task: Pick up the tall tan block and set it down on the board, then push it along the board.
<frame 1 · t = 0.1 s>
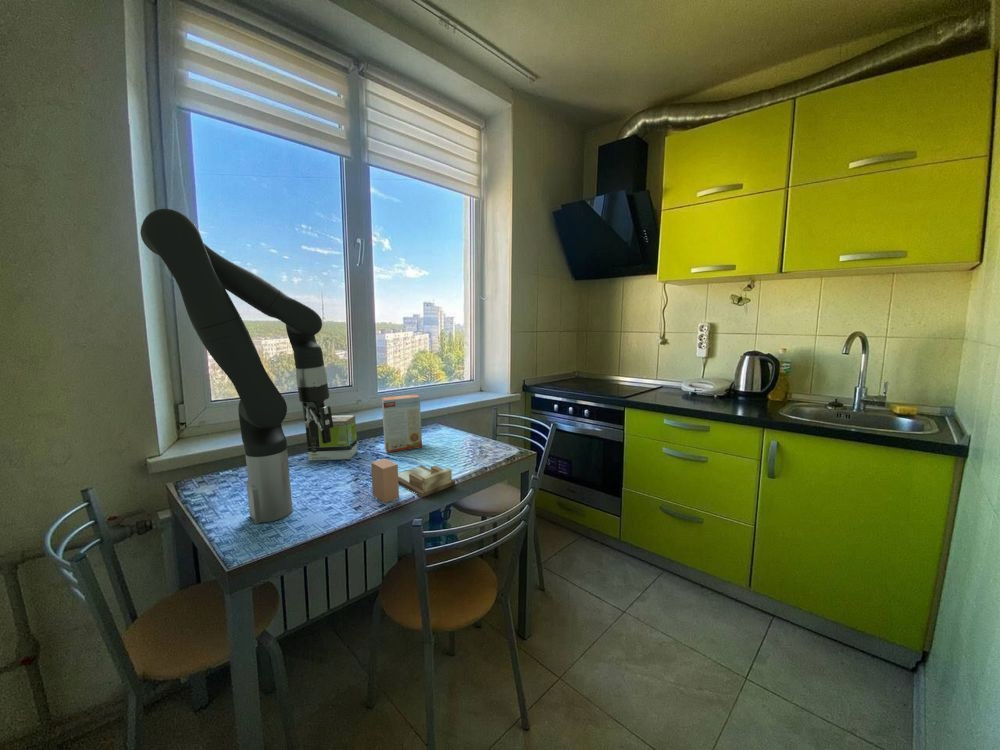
hand: (320, 439, 108), 17 cm above the table, tool pointing down, fingers open, 8 cm apart
tea box: (333, 456, 144), on the table
tall tan block: (385, 496, 111), on the table
cracker box: (403, 448, 153), on the table
board: (422, 481, 121), on the table
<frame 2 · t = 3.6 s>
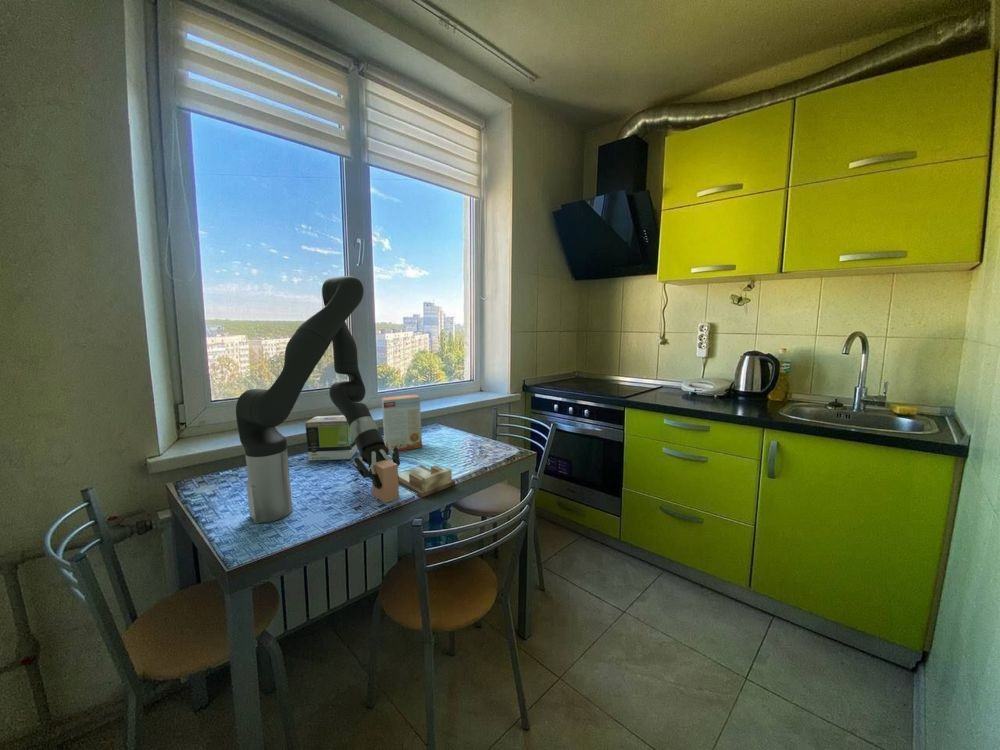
hand: (388, 484, 109), 4 cm above the table, tool tilted 45°, fingers closed on tall tan block, 4 cm apart
tall tan block: (385, 496, 111), on the table, touching gripper
everything else where it was.
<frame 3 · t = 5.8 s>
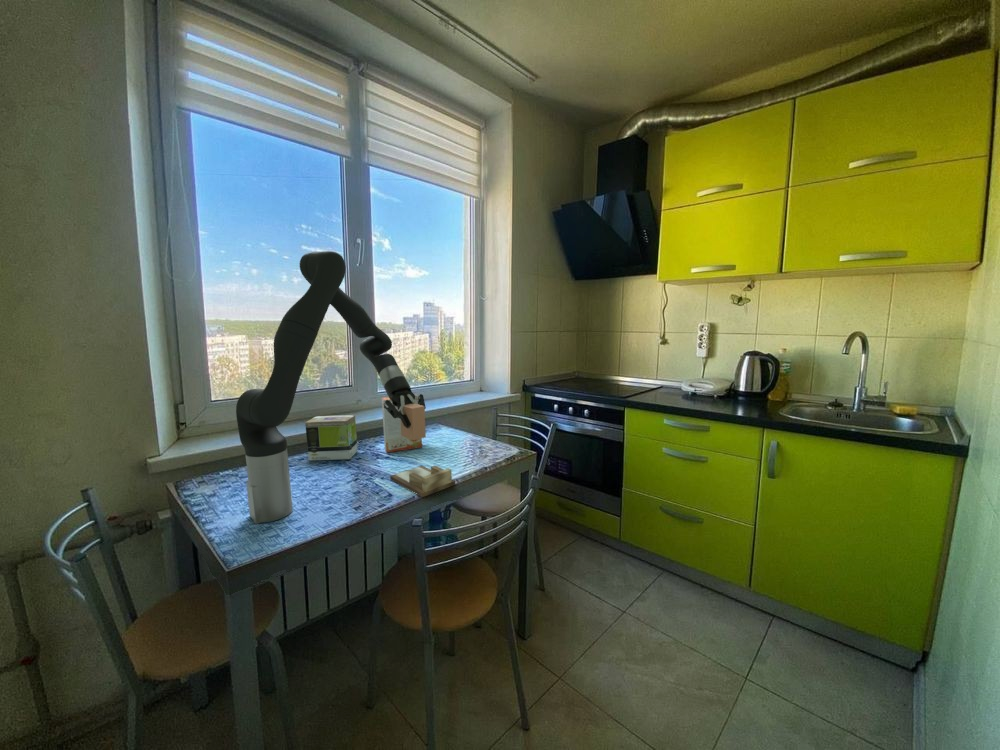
hand: (416, 424, 120), 18 cm above the table, tool tilted 45°, fingers closed on tall tan block, 4 cm apart
tall tan block: (413, 436, 121), point 14 cm above the table, touching gripper
everything else where it was.
when the fingers open (7 cm above the table, at t = 8.2 s): tall tan block drops 1 cm, resting on board.
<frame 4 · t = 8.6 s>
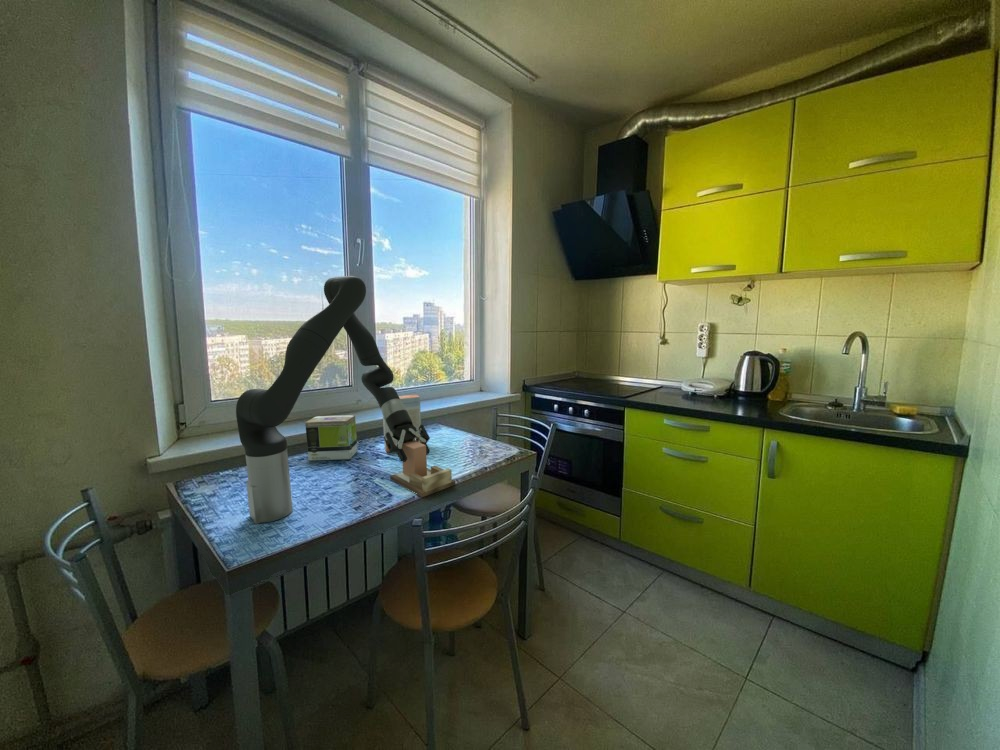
hand: (416, 457, 121), 7 cm above the table, tool tilted 45°, fingers open, 7 cm apart
tall tan block: (414, 474, 123), point 1 cm above the table, touching board
everything else where it was.
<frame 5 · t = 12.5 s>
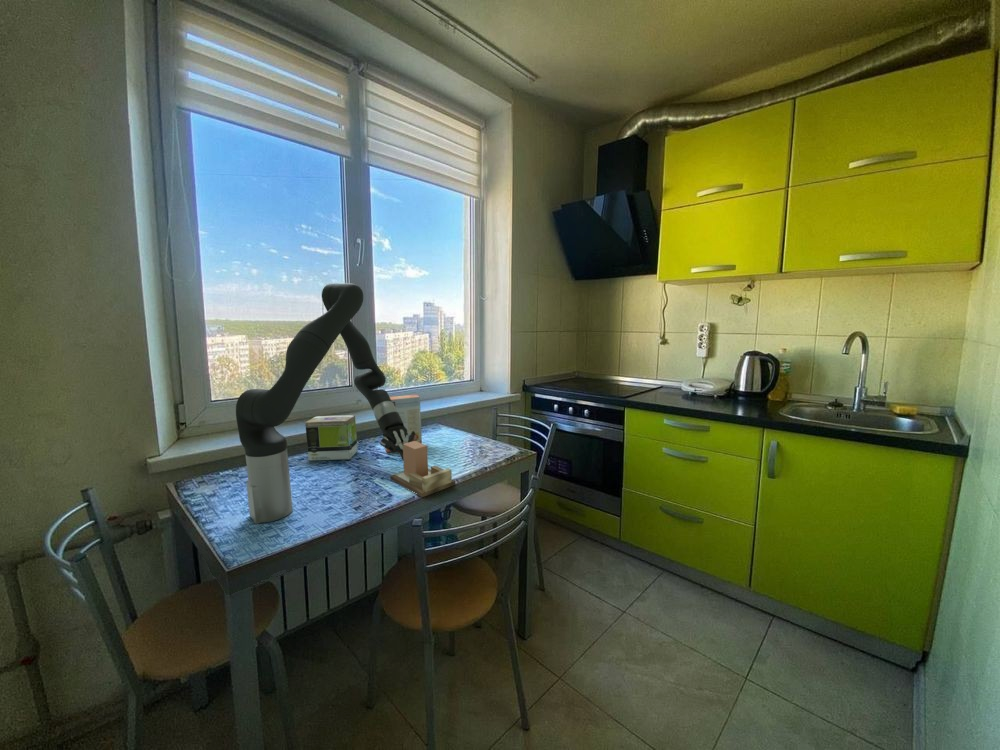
hand: (408, 460, 125), 5 cm above the table, tool tilted 45°, fingers closed
nothing on the table moved.
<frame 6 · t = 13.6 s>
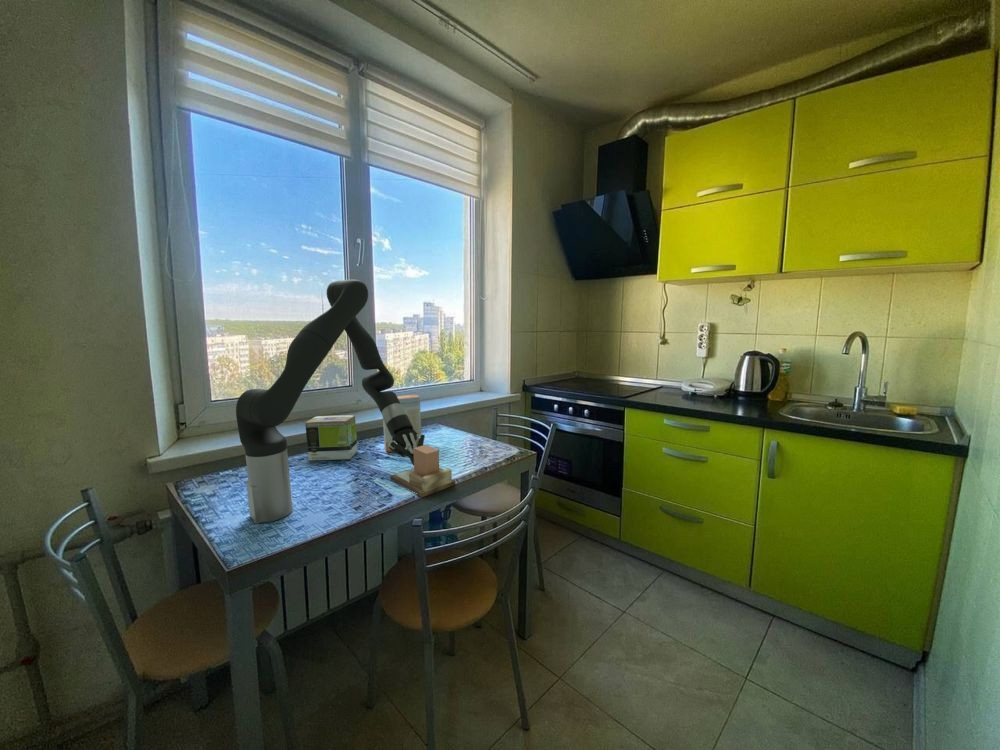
hand: (418, 464, 121), 5 cm above the table, tool tilted 45°, fingers closed
tall tan block: (426, 480, 119), point 1 cm above the table, touching gripper
everything else where it was.
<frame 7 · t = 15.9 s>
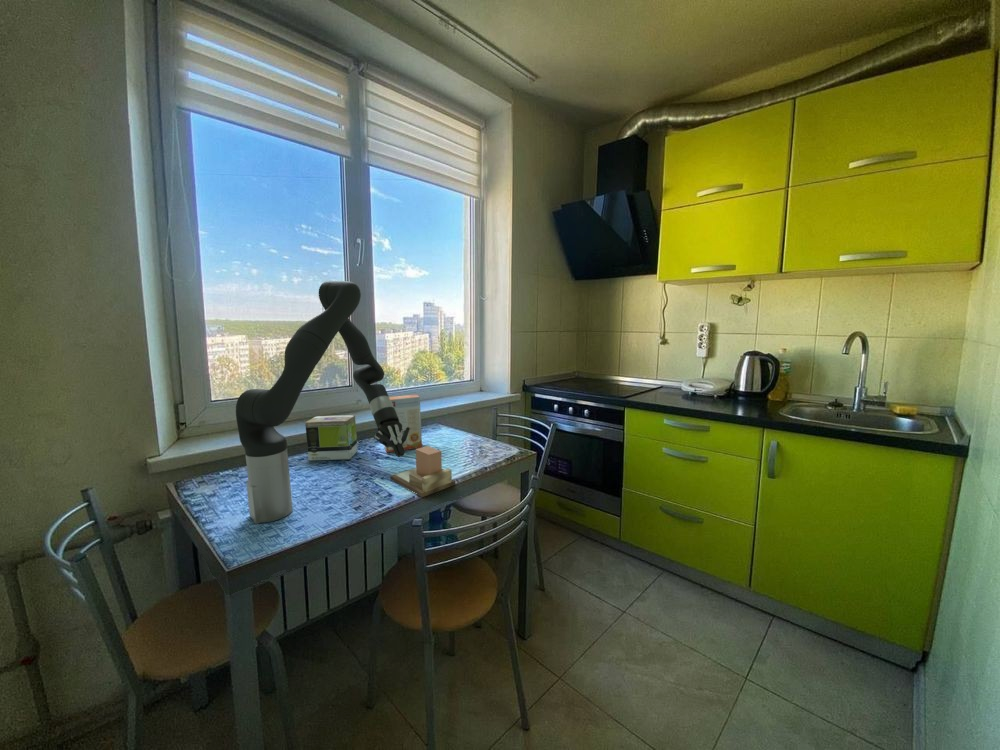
hand: (401, 455, 126), 6 cm above the table, tool tilted 45°, fingers closed
tall tan block: (429, 481, 118), point 1 cm above the table, touching board
everything else where it was.
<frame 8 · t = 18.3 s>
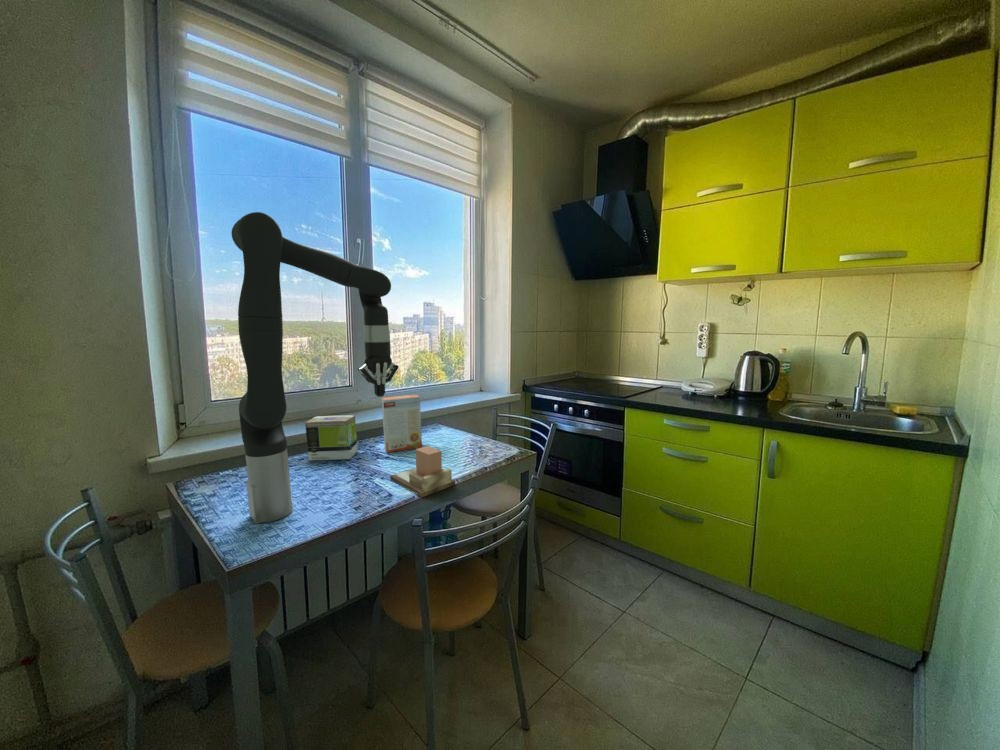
hand: (380, 396, 120), 27 cm above the table, tool pointing down, fingers closed
nothing on the table moved.
at the end: tall tan block 0.3 cm from the target spot on the board, point 1.2 cm above the board's base; tall tan block tilted 0°; the gripper is holding nothing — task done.
